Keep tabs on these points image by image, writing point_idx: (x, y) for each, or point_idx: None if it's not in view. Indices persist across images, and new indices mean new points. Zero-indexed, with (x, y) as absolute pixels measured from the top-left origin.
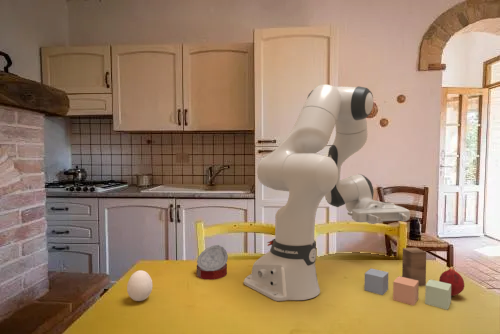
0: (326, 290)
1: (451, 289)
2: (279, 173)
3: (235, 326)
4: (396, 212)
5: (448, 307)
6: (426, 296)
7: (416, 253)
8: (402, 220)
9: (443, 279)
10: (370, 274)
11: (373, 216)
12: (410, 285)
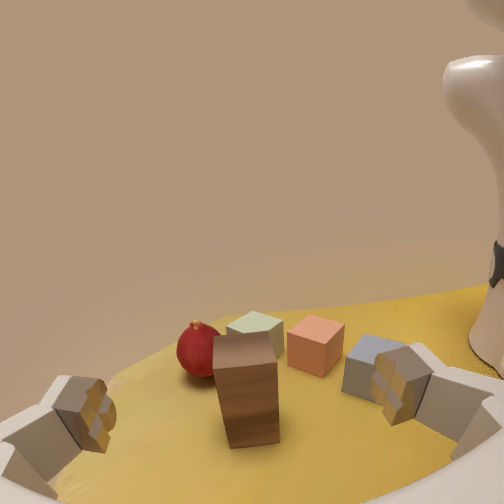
0: (464, 357)
1: None
2: None
3: None
4: (13, 485)
5: None
6: (282, 339)
7: (251, 334)
8: (113, 417)
9: None
10: (391, 340)
11: (453, 370)
12: (314, 316)
